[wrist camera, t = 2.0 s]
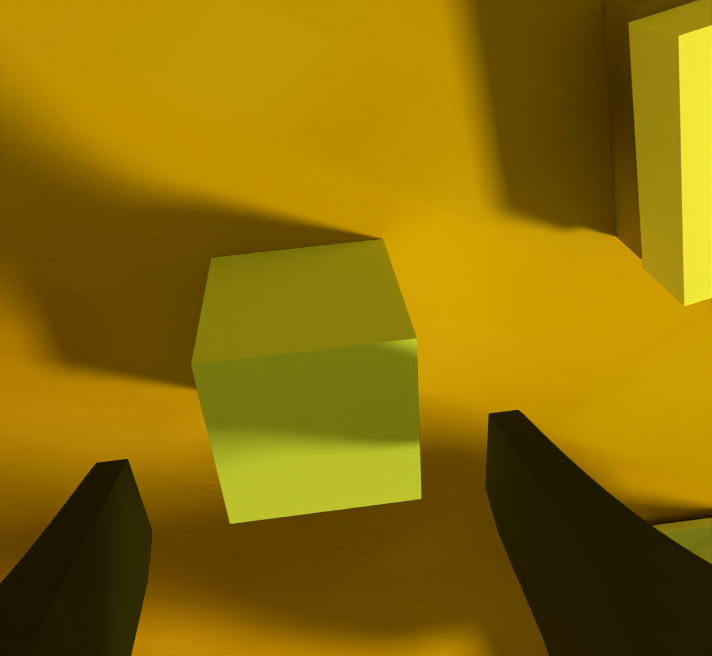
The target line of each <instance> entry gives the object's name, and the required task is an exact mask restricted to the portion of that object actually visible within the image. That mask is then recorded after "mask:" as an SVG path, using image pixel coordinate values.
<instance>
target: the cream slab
mask: <svg viewBox="0 0 712 656" xmlns="http://www.w3.org/2000/svg"><path fill="white" fill-rule="evenodd" d="M629 40H630V57H631V75H632V92H633V109H634V126H635V143H636V160H637V178H638V195H639V212H640V229H641V246H642V263H643V269H644V270H645V271H646V272H647V273H649V274H650V275H651V276H652V277H653V278H654V279H655V280H656V281H657V282H658V283H660V284H661V285H662V286H663V287H664V288H665V289H666V290H667V291H668V292H669V293H671V294H672V295H673V296H674V297H675V298H676V299H677V300H678V301H679V302H680V303H682V304H683V305H684V306H686V305H689V304H693V303H696V302H699V301H703V300H706V299H709V298H712V0H697V1H694V2H691V3H688V4H685V5H682V6H679V7H675V8H672V9H669V10H666V11H663V12H660V13H657V14H654V15H651V16H647V17H644V18H641V19H638V20H635V21H632V22H629Z"/></svg>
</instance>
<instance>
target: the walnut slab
mask: <svg viewBox="0 0 712 656" xmlns="http://www.w3.org/2000/svg"><path fill="white" fill-rule="evenodd" d="M694 1H697V0H608V1H605V19H606V39H607V59H608V79H609V99H610V119H611V139H612V158H613V178H614V198H615V218H616V237H617V238H619V239H620V240H621V241H622V242H623V243H624V244H625V245H626V246H627V247H628V248H629V249H631V250H632V251H633V252H634V253H635V254H636V255H637V256H638V257H639V258H640V259H642V246H641V229H640V212H639V195H638V178H637V160H636V143H635V126H634V109H633V92H632V75H631V57H630V40H629V22H632V21H635V20H638V19H641V18H644V17H647V16H651V15H654V14H657V13H660V12H663V11H666V10H669V9H672V8H675V7H679V6H682V5H685V4H688V3H691V2H694Z"/></svg>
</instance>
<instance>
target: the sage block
mask: <svg viewBox="0 0 712 656" xmlns="http://www.w3.org/2000/svg"><path fill="white" fill-rule="evenodd" d="M191 367H192V371H193V375H194V379H195V383H196V387H197V392H198V396H199V400H200V404H201V408H202V412H203V416H204V420H205V424H206V428H207V432H208V436H209V440H210V444H211V448H212V453H213V457H214V461H215V465H216V469H217V473H218V477H219V481H220V485H221V489H222V493H223V497H224V501H225V505H226V509H227V513H228V518H229V522H230V524H233V523H240V522H248V521H256V520H263V519H271V518H279V517H286V516H294V515H302V514H309V513H317V512H325V511H333V510H340V509H348V508H356V507H363V506H371V505H379V504H386V503H394V502H402V501H409V500H417V499H421V466H420V432H419V398H418V364H417V338H416V335H415V332H414V329H413V326H412V323H411V320H410V317H409V314H408V311H407V308H406V305H405V302H404V299H403V297H402V294H401V291H400V288H399V285H398V282H397V279H396V276H395V273H394V270H393V267H392V264H391V261H390V258H389V256H388V253H387V250H386V247H385V244H384V241H383V239H376V240H367V241H358V242H349V243H340V244H331V245H322V246H313V247H303V248H294V249H285V250H276V251H267V252H258V253H249V254H240V255H230V256H221V257H212V258H211V261H210V266H209V272H208V277H207V282H206V288H205V293H204V298H203V304H202V309H201V314H200V320H199V325H198V330H197V336H196V341H195V346H194V351H193V357H192V362H191Z"/></svg>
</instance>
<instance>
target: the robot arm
mask: <svg viewBox="0 0 712 656" xmlns="http://www.w3.org/2000/svg"><path fill="white" fill-rule="evenodd" d="M486 491H487V494H488V498H489V501H490V505H491V509H492V512H493V516H494V519H495V522H496V526H497V529H498V532H499V535H500V537H501V540H502V542H503V545H504V547H505V550H506V552H507V554H508V557H509V559H510V561H511V564H512V566H513V569H514V571H515V573H516V576H517V578H518V580H519V583H520V585H521V587H522V590H523V592H524V594H525V597H526V599H527V601H528V604H529V606H530V609H531V611H532V613H533V616H534V618H535V620H536V623H537V625H538V627H539V630H540V632H541V635H542V637H543V640H544V643H545V645H546V648H547V650H548V653H549V656H712V518H705V519H697V520H690V521H682V522H675V523H667V524H660V525H653V526H652V525H650V524H649V523H647V522H646V521H644V520H643V519H642V518H640V517H639V516H638V515H636V514H635V513H634V512H632V511H631V510H630V509H629V508H627V507H626V506H625V505H623V504H622V503H621V502H620V501H618V500H617V499H616V498H615V497H613V496H612V495H611V494H610V493H608V492H607V491H606V490H605V489H604V488H602V487H601V486H600V485H599V484H598V483H597V482H595V481H594V480H593V479H592V478H591V477H590V476H589V475H587V474H586V473H585V472H584V471H583V470H582V469H581V468H580V467H578V466H577V465H576V464H575V463H574V462H573V461H572V460H571V459H569V458H568V457H567V456H566V455H565V454H564V453H563V452H562V451H561V450H560V449H559V448H558V447H557V446H556V445H555V444H554V443H552V442H551V441H550V440H549V439H548V438H547V437H546V436H545V435H544V434H543V433H542V432H541V431H540V430H539V429H538V428H537V427H536V426H535V425H534V424H533V423H532V422H531V421H530V420H529V419H528V418H527V417H526V416H525V415H524V414H523V413H522V412H520V411H519V410H513V411H505V412H497V413H489V418H488V442H487V465H486ZM151 540H152V529H151V526H150V523H149V520H148V517H147V514H146V511H145V508H144V505H143V502H142V499H141V496H140V494H139V491H138V488H137V485H136V482H135V479H134V476H133V473H132V470H131V467H130V464H129V461H128V459H123V460H115V461H107V462H99V463H96V464H95V465H94V466H93V468H92V469H91V470H90V472H89V473H88V474H87V475H86V477H85V478H84V479H83V481H82V482H81V483H80V485H79V486H78V487H77V489H76V490H75V491H74V493H73V494H72V495H71V497H70V498H69V499H68V501H67V502H66V503H65V505H64V506H63V507H62V508H61V510H60V511H59V512H58V514H57V515H56V516H55V518H54V519H53V520H52V522H51V523H50V524H49V525H48V527H47V528H46V529H45V530H44V532H43V533H42V534H41V535H40V537H39V538H38V539H37V540H36V542H35V543H34V544H33V545H32V547H31V548H30V549H29V550H28V552H27V553H26V554H25V555H24V557H23V558H22V559H21V560H20V561H19V562H18V564H17V565H16V566H15V567H14V568H13V569H12V570H11V572H10V573H9V574H8V575H7V576H6V577H5V579H4V580H3V581H2V582H1V583H0V656H131V654H132V649H133V645H134V640H135V636H136V631H137V627H138V623H139V618H140V614H141V609H142V604H143V600H144V595H145V591H146V586H147V581H148V572H149V563H150V552H151Z"/></svg>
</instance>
